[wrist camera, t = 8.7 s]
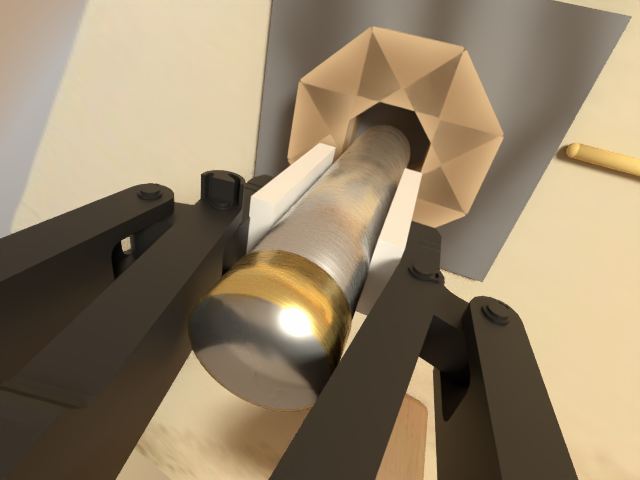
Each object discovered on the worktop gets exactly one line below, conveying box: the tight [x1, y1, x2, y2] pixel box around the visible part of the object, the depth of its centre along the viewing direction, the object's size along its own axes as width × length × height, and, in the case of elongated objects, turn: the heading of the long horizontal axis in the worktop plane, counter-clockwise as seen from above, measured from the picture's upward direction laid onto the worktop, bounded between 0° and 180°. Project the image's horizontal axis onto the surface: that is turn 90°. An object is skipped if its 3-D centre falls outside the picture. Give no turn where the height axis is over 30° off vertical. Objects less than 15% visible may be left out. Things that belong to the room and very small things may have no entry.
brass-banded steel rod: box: [187, 125, 410, 411], centre depth 14 cm, size 3×3×16 cm
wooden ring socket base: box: [254, 0, 631, 282], centre depth 24 cm, size 20×18×5 cm
